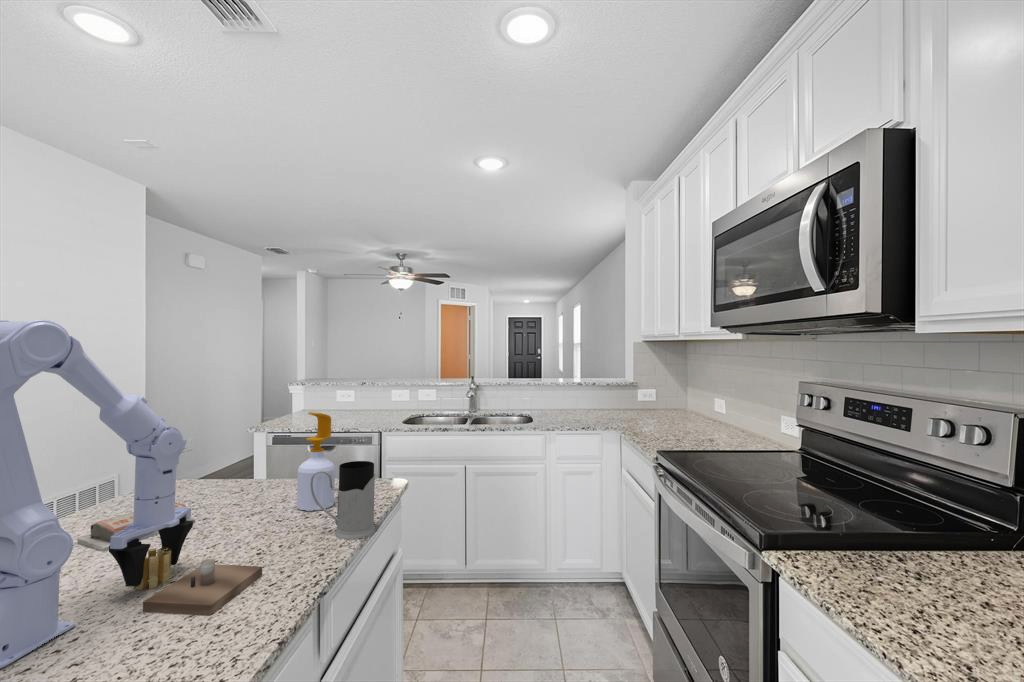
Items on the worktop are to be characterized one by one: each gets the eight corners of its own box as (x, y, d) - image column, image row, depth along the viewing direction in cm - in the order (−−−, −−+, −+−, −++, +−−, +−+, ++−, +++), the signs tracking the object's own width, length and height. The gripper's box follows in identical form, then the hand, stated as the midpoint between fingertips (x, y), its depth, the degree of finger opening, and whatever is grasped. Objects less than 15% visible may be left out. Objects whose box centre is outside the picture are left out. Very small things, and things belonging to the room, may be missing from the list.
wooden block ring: (153, 590, 78) (154, 560, 78) (127, 589, 78) (128, 559, 78) (177, 576, 83) (178, 548, 83) (152, 575, 83) (153, 547, 83)
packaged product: (168, 498, 113) (196, 503, 109) (168, 518, 113) (195, 524, 109) (76, 522, 97) (105, 529, 93) (75, 546, 96) (104, 554, 93)
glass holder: (372, 538, 101) (374, 468, 102) (303, 541, 99) (305, 470, 100) (378, 523, 110) (379, 459, 110) (314, 526, 108) (316, 461, 108)
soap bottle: (288, 509, 119) (291, 413, 120) (313, 499, 128) (315, 409, 128) (317, 513, 116) (320, 414, 117) (341, 502, 125) (343, 410, 126)
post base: (210, 615, 71) (211, 581, 71) (142, 611, 72) (143, 578, 72) (262, 575, 84) (262, 546, 84) (204, 572, 85) (204, 544, 85)
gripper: (140, 509, 74) (137, 597, 73) (207, 484, 88) (204, 557, 88) (99, 508, 74) (95, 594, 74) (171, 483, 89) (169, 555, 88)
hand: (152, 574), depth 81 cm, fingers open, 7 cm apart
